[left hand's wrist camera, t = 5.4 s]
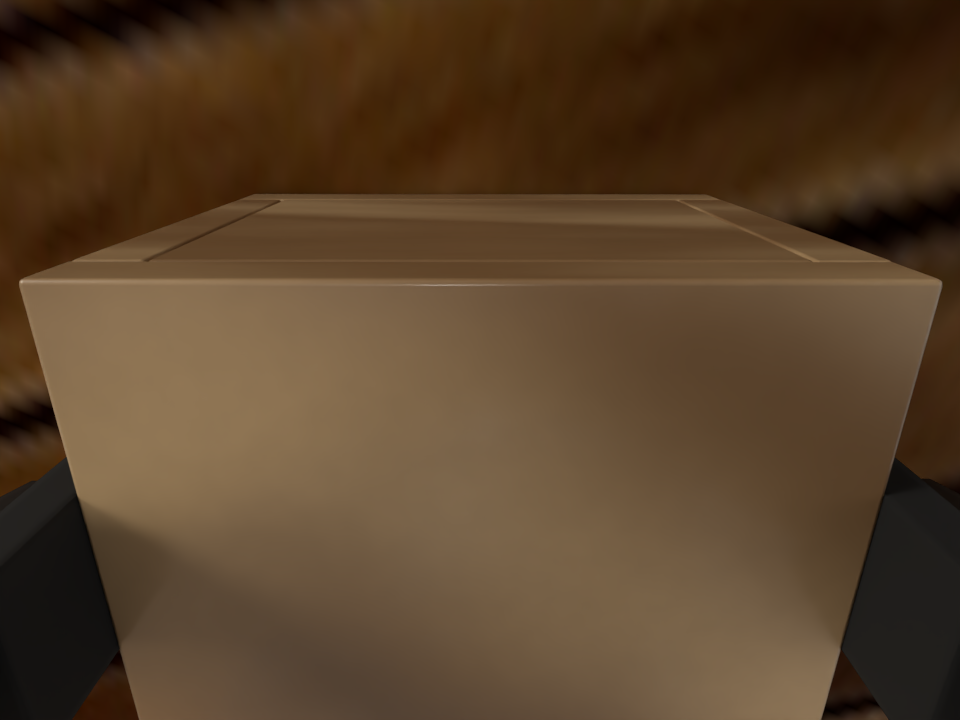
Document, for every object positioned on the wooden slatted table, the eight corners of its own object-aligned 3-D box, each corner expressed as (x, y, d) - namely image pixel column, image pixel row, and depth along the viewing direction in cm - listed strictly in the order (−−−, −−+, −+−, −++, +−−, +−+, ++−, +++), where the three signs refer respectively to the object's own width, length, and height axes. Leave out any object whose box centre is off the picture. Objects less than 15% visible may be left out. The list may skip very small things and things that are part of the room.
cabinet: (641, 701, 21) (734, 1037, 13) (318, 701, 21) (225, 1038, 13) (707, 194, 15) (948, 279, 7) (253, 194, 15) (14, 278, 7)
